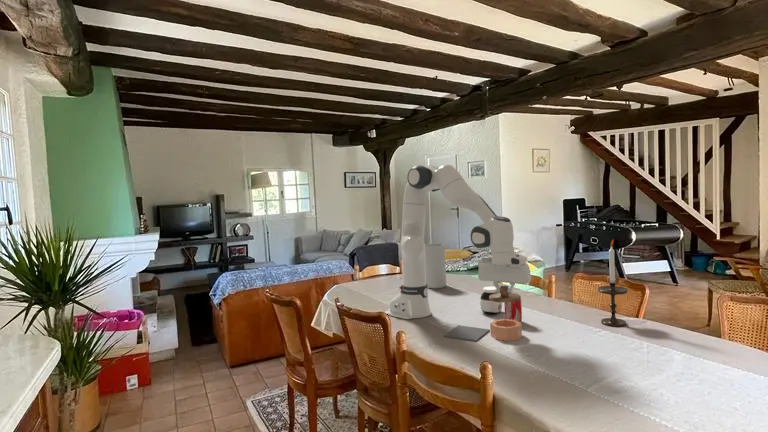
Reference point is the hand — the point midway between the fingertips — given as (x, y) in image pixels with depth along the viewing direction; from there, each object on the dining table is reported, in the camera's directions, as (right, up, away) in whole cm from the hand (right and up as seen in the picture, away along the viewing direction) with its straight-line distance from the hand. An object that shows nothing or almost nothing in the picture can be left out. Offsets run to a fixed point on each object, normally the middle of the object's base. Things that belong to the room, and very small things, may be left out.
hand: (504, 292), depth 177 cm
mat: (-14, -18, +6) cm, 23 cm away
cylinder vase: (-16, -12, +93) cm, 95 cm away
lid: (0, -2, 0) cm, 2 cm away
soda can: (+9, -16, +18) cm, 25 cm away
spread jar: (+2, -15, +35) cm, 38 cm away
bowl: (+1, -17, +1) cm, 17 cm away
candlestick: (+47, -14, +8) cm, 50 cm away
